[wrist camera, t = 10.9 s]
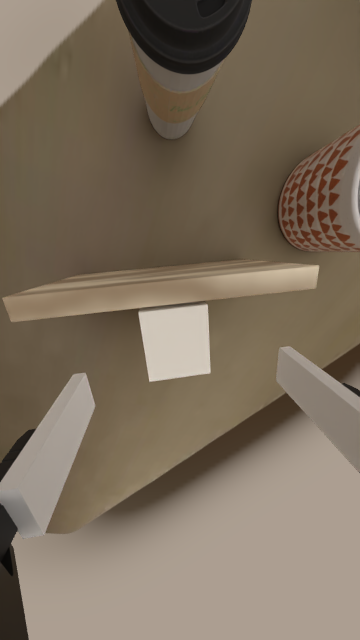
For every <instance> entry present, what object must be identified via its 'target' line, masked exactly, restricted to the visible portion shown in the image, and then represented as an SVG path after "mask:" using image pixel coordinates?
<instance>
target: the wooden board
mask: <svg viewBox="0 0 360 640" xmlns="http://www.w3.org/2000/svg"><path fill="white" fill-rule="evenodd" d="M318 271H319V265H307V264H295V263H284V262H272V261H261V260H249V259H238V260H228V261H217V262H207V263H196V264H186V265H175V266H165V267H154V268H144V269H133V270H123V271H112V272H102V273H91V274H81V275H76V276H73V277H69V278H66V279H63V280H59V281H56V282H53V283H49V284H46V285H43V286H39V287H36V288H33V289H29V290H26V291H23V292H19V293H16V294H13V295H9V296H6V297H3V298H2V299H3V302H4V304H5V307H6V309H7V312H8V314H9V317H10V319H11V322H18V321H27V320H36V319H45V318H54V317H63V316H72V315H81V314H90V313H99V312H108V311H117V310H126V309H135V308H144V307H153V306H162V305H171V304H180V303H189V302H198V301H207V300H216V299H225V298H234V297H243V296H252V295H261V294H270V293H279V292H288V291H297V290H306V289H315V288H316V284H317V277H318Z"/></svg>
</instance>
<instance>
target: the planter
mask: <svg viewBox="0 0 360 640" xmlns="http://www.w3.org/2000/svg"><path fill="white" fill-rule="evenodd" d="M278 218H279V224H280V228H281V230H282V233H283V235H284V236H285V238H286V239H287V240H288V242H289V243H290V244H292V245H293V246H294V247H296V248H298V249H300V250H304V251H312V252H360V125H358V126H356V127H355V128H353V129H352V130H350V131H348V132H347V133H345V134H344V135H342V136H340V137H339V138H337V139H336V140H334V141H332V142H331V143H329V144H328V145H326V146H324V147H323V148H321V149H320V150H318V151H316V152H315V153H313V154H312V155H310V156H309V157H307V158H306V159H304V160H303V161H302V162H301V163H300V164H299V165H298V166H297V167H296V168H295V169H294V170H293V171H292V173H291V174H290V176H289V177H288V179H287V181H286V182H285V185H284V187H283V189H282V192H281V195H280V199H279V206H278Z"/></svg>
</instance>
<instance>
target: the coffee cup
mask: <svg viewBox="0 0 360 640" xmlns="http://www.w3.org/2000/svg"><path fill="white" fill-rule="evenodd" d="M116 2H117V5H118V8H119V11H120V13H121V16H122V18H123V21H124V23H125V25H126V27H127V29H128V31H129V35H130V40H131V44H132V49H133V53H134V58H135V62H136V67H137V71H138V76H139V81H140V85H141V88H142V92H143V95H144V97H145V102H146V106H147V111H148V115H149V118H150V121H151V123H152V125H153V127H154V129H155V130H156V131H157V132H158V134H160V135H161V136H162V137H164V138H166V139H177V138H179V137H181V136H183V135H184V134H185V133H186V132H187V131H188V130H189V128H190V126H191V125H192V123H193V121H194V118H195V116H196V114H197V112H198V111H199V109H200V108H201V107H202V105H203V103H204V101H205V99H206V97H207V95H208V93H209V91H210V89H211V87H212V84H213V82H214V80H215V78H216V76H217V74H218V72H219V70H220V68H221V66H222V64H223V62H224V60H225V58H226V57H227V55H228V54H229V53H230V52H231V51H232V49H233V48H234V46H235V45H236V43H237V42H238V40H239V38H240V36H241V34H242V32H243V29H244V27H245V24H246V22H247V19H248V15H249V11H250V7H251V2H252V0H116Z"/></svg>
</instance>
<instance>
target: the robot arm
mask: <svg viewBox="0 0 360 640" xmlns="http://www.w3.org/2000/svg"><path fill="white" fill-rule="evenodd" d="M276 381H277V382H278V383H279V384H280V386H281V387H282V388H283V389H284V390H285V391H286V392H287V393H288V394H289V395H290V397H291V398H292V399H293V400H294V401H295V402H296V403H297V404H298V405H299V407H300V408H301V409H302V410H303V411H304V412H305V413H306V414H307V415H308V417H309V418H310V419H311V420H312V421H313V422H314V423H315V424H316V425H317V427H318V428H319V429H320V430H321V431H322V432H323V433H324V434H325V435H326V436H327V438H328V439H329V440H330V441H331V442H332V443H333V444H334V445H335V446H336V448H337V449H338V450H339V451H340V452H341V453H342V454H343V455H344V456H345V458H346V459H347V460H348V461H349V462H350V463H351V464H352V465H353V466H354V468H355V469H356V470H357V471H358V472H359V473H360V391H359V390H358V389H356V388H354V387H352V386H350V385H347V384H345V383H343V384H341V383H339V382H338V381H337V380H335V379H334V378H332V377H331V376H330V375H328V374H327V373H326V372H324V371H323V370H322V369H320V368H319V367H317V366H316V365H315V364H313V363H312V362H311V361H309V360H308V359H307V358H305V357H304V356H302V355H301V354H300V353H298V352H297V351H296V350H294V349H293V348H291V347H290V346H288V347H280V348H279V355H278V365H277V376H276ZM94 408H95V403H94V400H93V396H92V393H91V389H90V386H89V382H88V379H87V376H86V373H79V374H73V376H72V377H71V379H70V380H69V382H68V383H67V385H66V386H65V387H64V389H63V390H62V392H61V393H60V395H59V396H58V398H57V399H56V401H55V402H54V404H53V405H52V407H51V408H50V410H49V411H48V413H47V414H46V416H45V417H44V419H43V420H42V421H41V423H40V424H39V426H38V427H37V429H32V430H28V431H27V432H26V433H25V434H24V435H23V436H21V437H20V438H19V439H18V440H17V441H16V443H15V444H14V445H13V447H12V448H11V449H10V451H9V453H7V455H6V456H5V458H4V459H3V460H2V463H0V640H29V639H28V633H27V627H26V621H25V614H24V608H23V602H22V597H21V591H20V584H19V578H18V572H17V566H16V561H15V554H14V549H13V546H12V545H11V542H12V540H13V538H14V536H15V534H16V532H17V530H18V532H19V533H20V535H21V536H22V538H23V539H25V538H30V537H36V536H41V535H44V534H45V531H46V529H47V526H48V524H49V521H50V519H51V516H52V514H53V511H54V509H55V506H56V504H57V501H58V499H59V496H60V494H61V491H62V489H63V486H64V484H65V481H66V479H67V476H68V474H69V471H70V469H71V466H72V464H73V461H74V459H75V456H76V454H77V451H78V449H79V446H80V444H81V441H82V439H83V436H84V434H85V431H86V428H87V426H88V423H89V421H90V418H91V416H92V413H93V411H94Z"/></svg>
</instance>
